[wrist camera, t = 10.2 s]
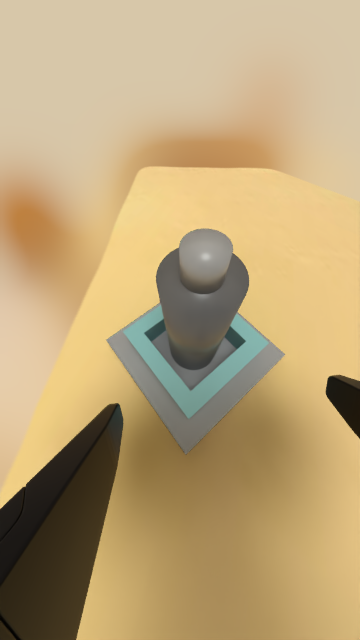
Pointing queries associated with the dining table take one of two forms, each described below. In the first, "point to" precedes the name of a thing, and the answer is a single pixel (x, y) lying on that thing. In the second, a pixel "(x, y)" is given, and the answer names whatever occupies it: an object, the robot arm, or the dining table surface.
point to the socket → (193, 373)
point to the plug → (200, 295)
